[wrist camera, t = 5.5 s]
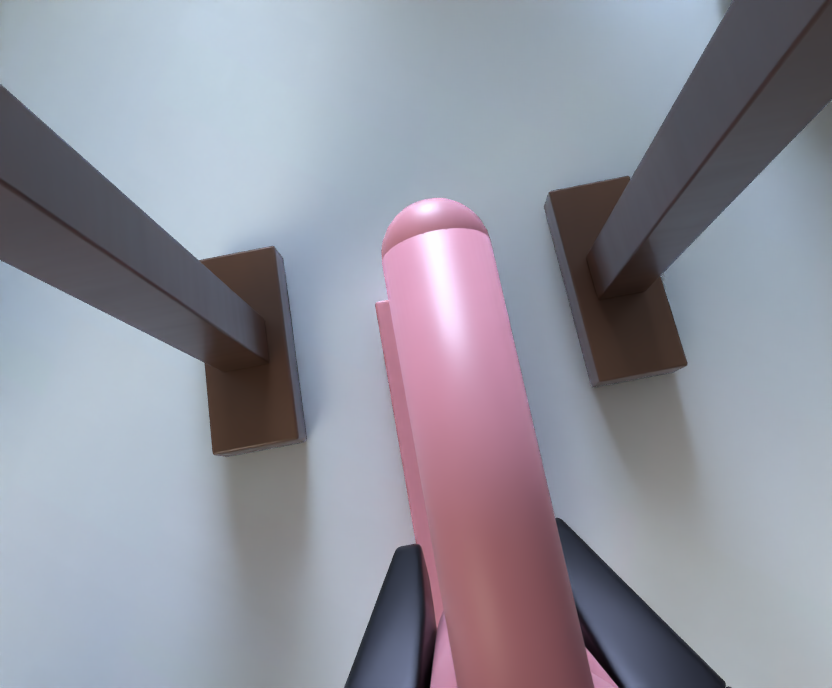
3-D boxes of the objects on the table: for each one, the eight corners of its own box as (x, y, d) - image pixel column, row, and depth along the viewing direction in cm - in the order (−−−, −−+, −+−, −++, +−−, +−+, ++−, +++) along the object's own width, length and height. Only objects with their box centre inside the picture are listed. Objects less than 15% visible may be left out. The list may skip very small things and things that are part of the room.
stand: (675, 372, 17) (2033, -335, 2) (225, 457, 17) (-1043, 291, 3) (620, 191, 18) (1239, -910, 4) (207, 271, 18) (-651, -483, 4)
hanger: (556, 666, 15) (979, 1413, 3) (443, 686, 15) (400, 1503, 3) (471, 280, 18) (507, -163, 6) (377, 298, 18) (213, -101, 6)
